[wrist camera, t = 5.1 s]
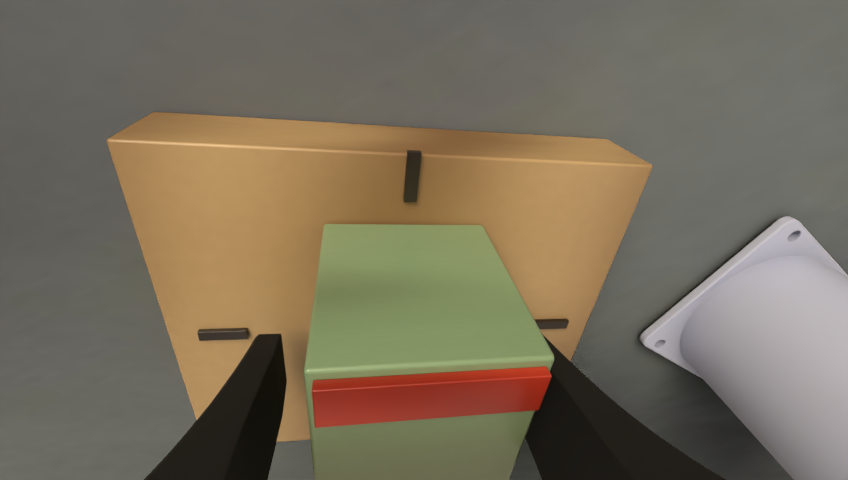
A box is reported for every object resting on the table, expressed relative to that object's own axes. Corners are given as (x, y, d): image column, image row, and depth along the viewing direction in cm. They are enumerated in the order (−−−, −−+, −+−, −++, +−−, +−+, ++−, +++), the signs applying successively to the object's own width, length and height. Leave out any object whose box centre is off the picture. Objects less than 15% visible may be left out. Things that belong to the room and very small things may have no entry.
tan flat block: (609, 135, 13) (659, 164, 11) (524, 377, 20) (546, 426, 17) (151, 107, 11) (98, 136, 9) (223, 394, 17) (203, 454, 15)
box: (449, 400, 16) (486, 560, 11) (332, 408, 15) (322, 584, 10) (483, 223, 11) (563, 368, 7) (323, 222, 11) (300, 383, 6)
